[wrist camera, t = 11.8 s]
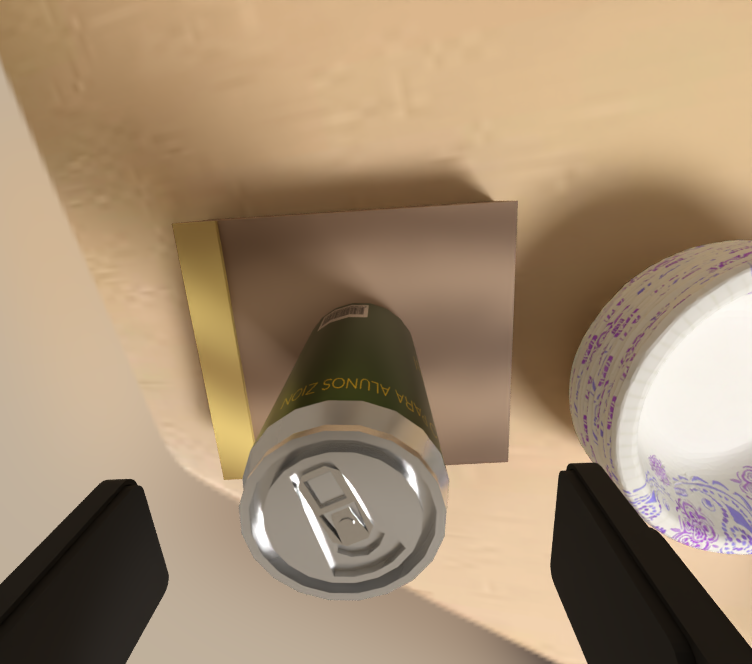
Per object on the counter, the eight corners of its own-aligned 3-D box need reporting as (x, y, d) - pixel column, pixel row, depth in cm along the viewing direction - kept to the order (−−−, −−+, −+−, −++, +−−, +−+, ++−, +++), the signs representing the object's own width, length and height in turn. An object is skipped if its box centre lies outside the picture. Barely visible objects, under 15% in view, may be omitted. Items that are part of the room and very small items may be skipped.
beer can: (290, 327, 21) (183, 477, 9) (386, 280, 20) (396, 381, 9) (339, 413, 22) (299, 634, 11) (430, 372, 22) (491, 563, 10)
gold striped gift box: (208, 220, 23) (171, 223, 19) (494, 201, 23) (519, 200, 19) (246, 438, 27) (224, 479, 23) (489, 425, 27) (509, 465, 23)
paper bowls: (809, 206, 23) (1022, 208, 15) (785, 441, 27) (941, 532, 20) (533, 263, 24) (606, 291, 16) (554, 480, 28) (618, 582, 21)
